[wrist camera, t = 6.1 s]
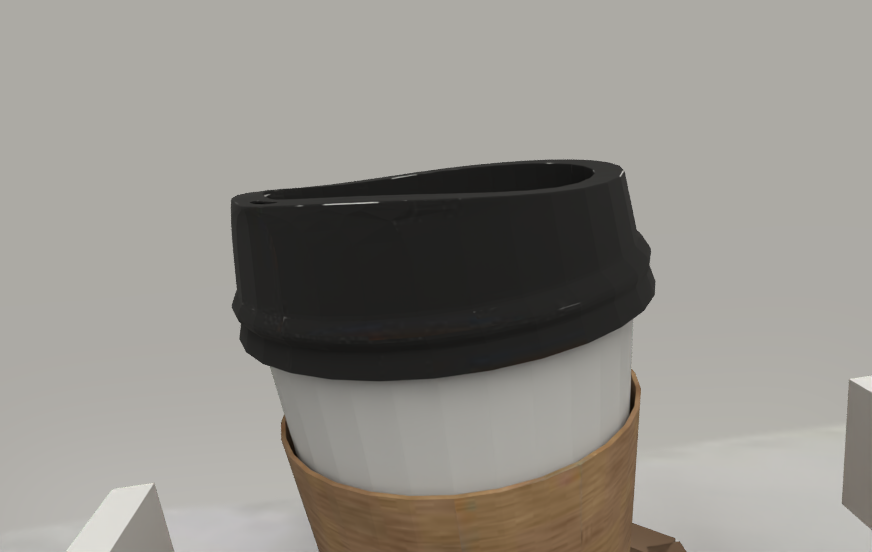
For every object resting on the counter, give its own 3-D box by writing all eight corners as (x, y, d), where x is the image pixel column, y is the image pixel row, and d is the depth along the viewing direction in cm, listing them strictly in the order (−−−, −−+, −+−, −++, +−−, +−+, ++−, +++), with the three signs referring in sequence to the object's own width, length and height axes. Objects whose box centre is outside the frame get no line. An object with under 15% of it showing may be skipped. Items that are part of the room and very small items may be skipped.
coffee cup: (283, 746, 17) (142, 202, 13) (493, 568, 22) (440, 145, 18) (521, 1080, 10) (392, 225, 6) (734, 722, 16) (736, 127, 12)
